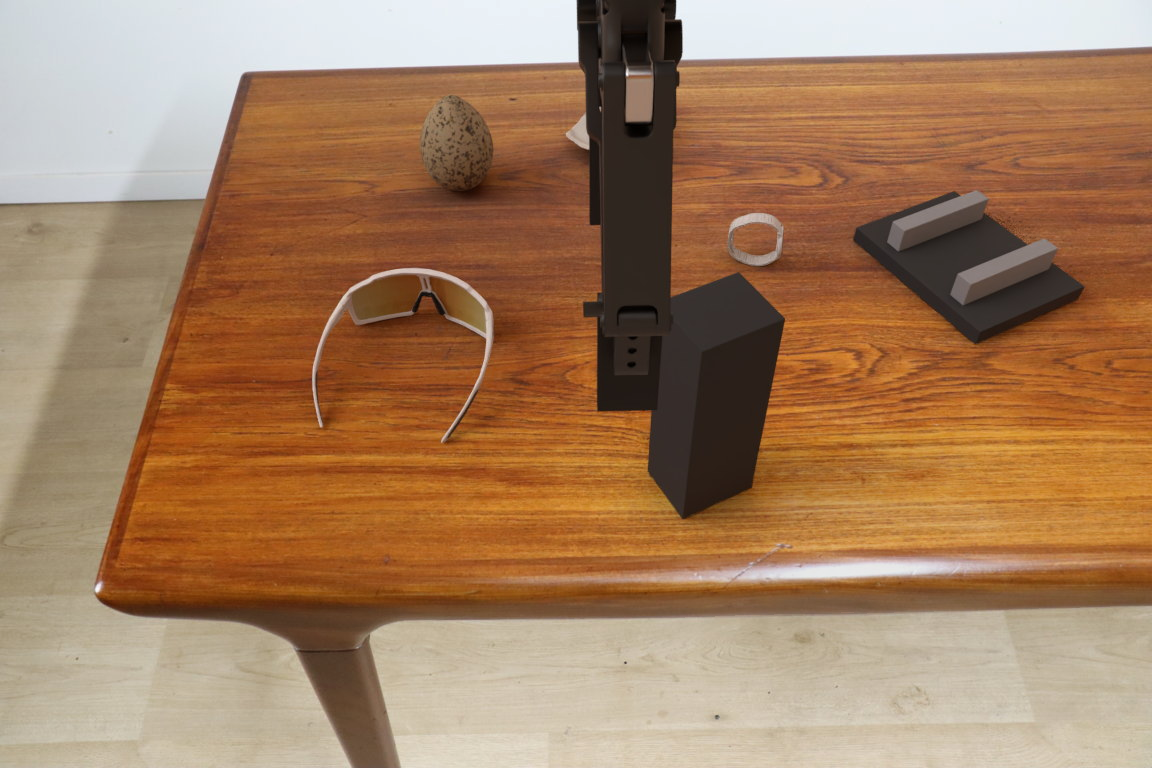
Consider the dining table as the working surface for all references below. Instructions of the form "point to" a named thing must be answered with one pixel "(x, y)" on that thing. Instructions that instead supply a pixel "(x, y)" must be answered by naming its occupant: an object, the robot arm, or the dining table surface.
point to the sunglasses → (402, 298)
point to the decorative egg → (456, 144)
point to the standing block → (713, 393)
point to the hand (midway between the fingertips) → (619, 304)
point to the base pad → (969, 264)
